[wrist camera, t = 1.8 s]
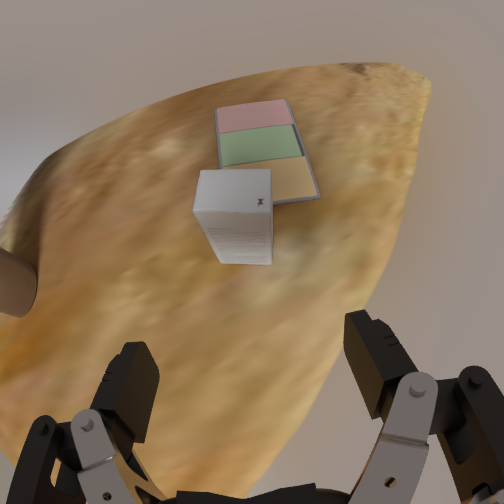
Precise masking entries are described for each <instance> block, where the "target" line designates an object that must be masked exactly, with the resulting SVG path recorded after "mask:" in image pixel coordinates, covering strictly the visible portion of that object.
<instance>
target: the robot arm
mask: <svg viewBox="0 0 504 504" xmlns="http://www.w3.org/2000/svg"><path fill="white" fill-rule="evenodd" d="M36 287H37V279H36V273H35V270H34V268H33V266H32V265H31V264H29V263H28V262H26V261H24V260H22V259H20V258H19V257H17V256H15V255H13V254H12V253H10V252H8V251H6V250H5V249H3V248H1V247H0V312H2V313H5V314H8V315H11V316H15V317H22V316H24V315H25V314H26V313H27V312H28V311H29V310H30V308H31V306H32V304H33V301H34V298H35V294H36ZM343 344H344V351H345V355H346V358H347V360H348V363H349V365H350V367H351V370H352V372H353V374H354V377H355V379H356V382H357V384H358V386H359V389H360V391H361V394H362V396H363V398H364V401H365V404H366V406H367V409H368V411H369V414H370V416H371V419H372V420H373V419H376V418H378V417H381V419H382V421H383V423H384V424H383V426H382V429H381V431H380V433H379V436H378V438H377V441H376V443H375V445H374V448H373V450H372V452H371V455H370V457H369V459H368V461H367V463H366V465H365V467H364V469H363V471H362V473H361V475H360V477H359V479H358V480H357V482H356V484H355V486H354V488H353V490H352V492H351V493H350V495H349V494H347V493H344V492H341V491H337V490H332V489H320V488H319V489H318V488H316V485H315V483H311V484H305V485H300V486H293V487H287V488H280V489H277V490H274V491H271V492H268V493H264V494H261V495H258V496H254V497H251V498H247V499H239V498H234V497H228V496H223V495H219V494H214V493H210V492H191V491H177V494H176V497H174V498H170V499H167V498H166V496H165V495H164V494H163V493H162V492H161V491H160V490H159V489H158V488H157V487H156V486H155V484H154V483H153V481H152V480H151V478H150V477H149V475H148V473H147V472H146V470H145V468H144V467H143V465H142V463H141V461H140V460H139V458H138V456H137V454H136V452H135V451H134V450H133V449H132V447H133V443H134V442H135V443H144V442H145V437H146V433H147V428H148V424H149V420H150V415H151V411H152V407H153V403H154V399H155V395H156V391H157V387H158V383H159V378H160V376H159V370H158V367H157V365H156V363H155V361H154V359H153V357H152V355H151V353H150V351H149V349H148V347H147V345H146V344H145V343H144V342H143V341H141V342H127V343H125V345H124V347H123V349H122V351H121V353H120V354H117V355H116V356H115V357H114V359H113V360H112V361H111V362H110V363H109V365H108V367H107V369H106V372H105V373H106V374H104V376H103V378H102V382H101V383H100V385H99V387H98V390H97V392H96V394H95V397H94V399H93V401H92V404H91V406H90V408H89V409H85V410H82V411H80V412H79V413H77V414H76V415H75V416H74V418H73V419H72V421H71V422H64V423H57V422H56V421H55V420H54V419H53V418H52V417H51V416H48V415H43V416H40V417H38V418H37V419H36V420H35V421H34V422H33V424H32V426H31V428H30V431H29V433H28V436H27V438H26V441H25V444H24V446H23V449H22V452H21V455H20V457H19V460H18V463H17V466H16V469H15V473H14V476H13V480H12V483H11V486H10V490H9V494H8V497H7V502H6V504H86V500H87V502H88V504H410V502H411V499H412V497H413V495H414V492H415V490H416V487H417V484H418V482H419V479H420V476H421V473H422V470H423V467H424V464H425V461H426V458H427V454H428V450H429V445H428V444H427V438H428V435H433V434H436V435H437V437H438V440H439V442H440V444H441V447H442V450H443V452H444V455H445V457H446V460H447V462H448V465H449V468H450V471H451V474H452V477H453V480H454V482H455V486H456V488H457V492H458V495H459V498H460V501H461V504H504V396H503V395H502V393H501V391H500V389H499V388H498V386H497V385H496V383H495V382H494V380H493V379H492V377H491V375H490V374H489V373H488V371H486V370H485V369H484V368H482V367H479V366H469V367H466V368H465V369H463V371H462V372H461V373H460V375H459V377H458V378H454V379H445V380H435V379H434V378H433V377H432V376H430V375H429V374H427V373H423V372H419V371H418V370H417V368H416V366H415V365H414V363H413V362H412V360H411V359H410V357H409V355H408V354H407V352H406V351H405V349H404V348H403V346H402V345H401V344H400V342H399V340H398V339H397V337H396V336H395V335H394V333H393V331H392V330H391V328H390V327H389V326H388V325H387V324H385V323H384V322H383V321H381V320H380V319H377V320H372V319H371V318H370V316H369V315H368V314H367V312H366V311H365V310H364V309H363V310H359V311H355V312H350V313H346V314H345V324H344V341H343ZM56 458H57V459H58V460H59V461H60V462H61V465H60V469H59V473H58V477H57V481H56V485H55V487H54V486H53V485H52V483H51V479H50V477H51V473H52V469H53V466H54V462H55V459H56Z"/></svg>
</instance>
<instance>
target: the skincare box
mask: <svg viewBox="0 0 504 504" xmlns="http://www.w3.org/2000/svg"><path fill="white" fill-rule="evenodd" d="M192 212H193V214H194V216H195V217H196V219H197V221H198V223H199V225H200V226H201V228H202V230H203V232H204V234H205V236H206V238H207V239H208V241H209V243H210V245H211V247H212V249H213V251H214V252H215V254H216V256H217V258H218V260H219V262H220V263H230V264H260V265H272V256H273V199H272V171H271V169H217V170H201V171H200V175H199V180H198V185H197V189H196V194H195V199H194V204H193V209H192Z"/></svg>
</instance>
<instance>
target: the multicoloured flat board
mask: <svg viewBox="0 0 504 504" xmlns="http://www.w3.org/2000/svg"><path fill="white" fill-rule="evenodd" d="M214 110H215V122H216V133H217V144H218V154H219V165H220V169H271V171H272V199H273V205H276V204H283V203H291V202H298V201H306V200H314V199H320V197H321V196H320V192H319V189H318V186H317V183H316V180H315V177H314V174H313V171H312V168H311V165H310V162H309V159H308V156H307V153H306V150H305V147H304V144H303V141H302V139H301V136H300V133H299V130H298V128H297V125H296V122H295V120H294V117H293V114H292V112H291V109H290V107H289V104H288V102H287V99H283V100H272V101H262V102H254V103H246V104H239V105H232V106H226V107H220V108H214Z"/></svg>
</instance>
